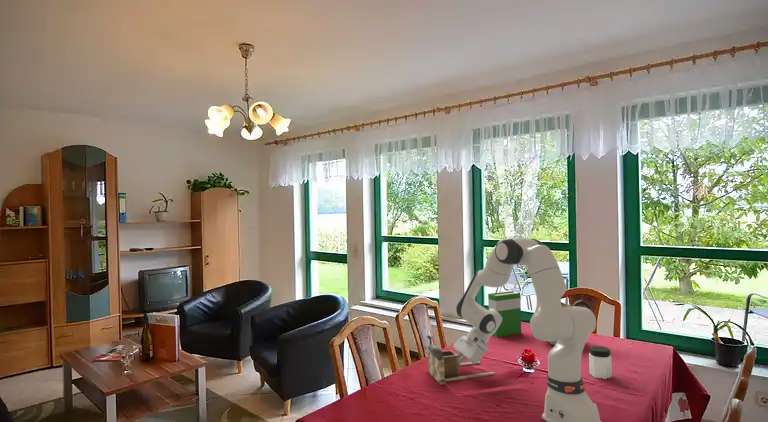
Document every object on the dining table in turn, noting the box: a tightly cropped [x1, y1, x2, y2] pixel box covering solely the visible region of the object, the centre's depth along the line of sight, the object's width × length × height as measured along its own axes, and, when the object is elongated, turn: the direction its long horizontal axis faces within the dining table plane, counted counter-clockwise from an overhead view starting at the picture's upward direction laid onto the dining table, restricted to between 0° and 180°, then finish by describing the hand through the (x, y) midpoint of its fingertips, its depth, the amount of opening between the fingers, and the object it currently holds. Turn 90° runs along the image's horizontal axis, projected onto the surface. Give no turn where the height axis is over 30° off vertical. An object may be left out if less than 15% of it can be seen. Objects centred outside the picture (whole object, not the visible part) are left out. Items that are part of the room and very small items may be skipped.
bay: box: [426, 335, 496, 385], centre depth 204 cm, size 17×27×17 cm, turn 104°
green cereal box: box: [487, 290, 522, 338], centre depth 266 cm, size 18×7×24 cm, turn 112°
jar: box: [588, 345, 613, 380], centre depth 198 cm, size 9×8×12 cm
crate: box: [441, 349, 460, 378], centre depth 202 cm, size 8×8×9 cm
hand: (456, 363), depth 203 cm, fingers closed, pressing on crate
